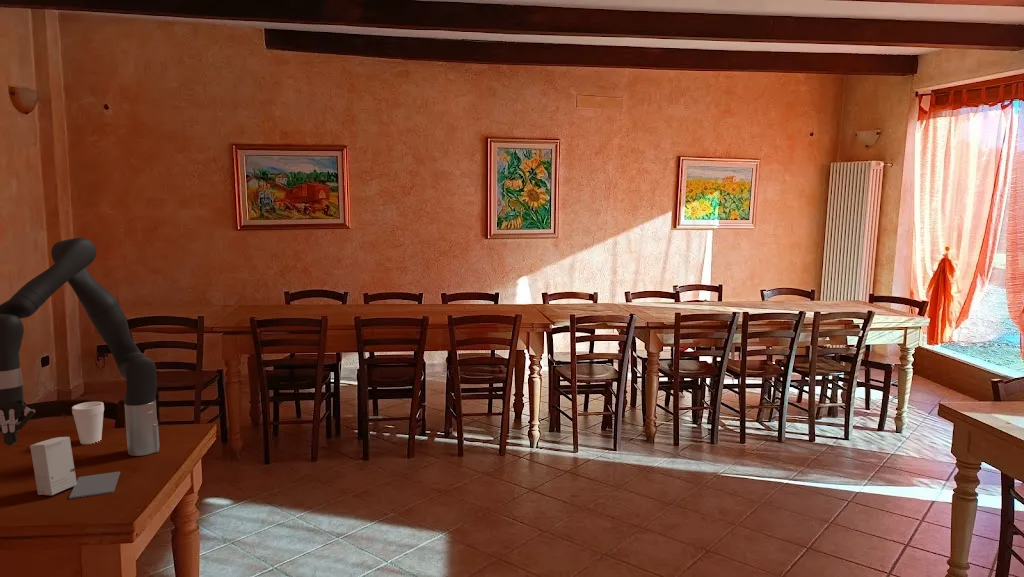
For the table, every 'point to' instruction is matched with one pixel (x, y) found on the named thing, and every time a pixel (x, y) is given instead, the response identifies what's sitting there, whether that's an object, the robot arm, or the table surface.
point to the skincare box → (53, 465)
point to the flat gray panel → (95, 485)
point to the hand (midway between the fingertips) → (11, 444)
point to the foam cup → (89, 421)
